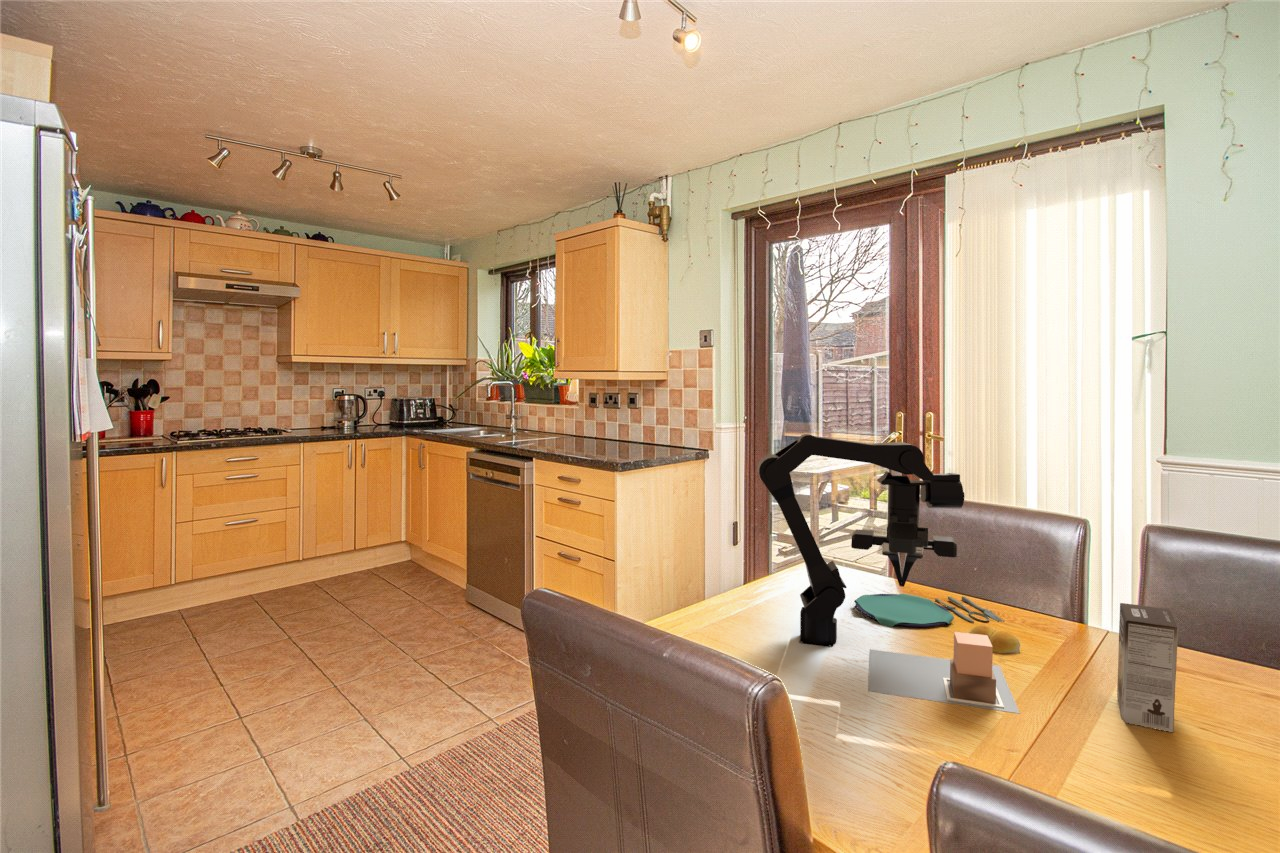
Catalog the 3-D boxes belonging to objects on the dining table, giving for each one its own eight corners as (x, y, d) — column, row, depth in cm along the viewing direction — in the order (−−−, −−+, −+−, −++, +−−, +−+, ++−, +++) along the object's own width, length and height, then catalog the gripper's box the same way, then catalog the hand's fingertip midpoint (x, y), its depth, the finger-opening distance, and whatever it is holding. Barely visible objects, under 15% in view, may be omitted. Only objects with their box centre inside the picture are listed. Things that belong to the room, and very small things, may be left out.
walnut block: (953, 698, 103) (954, 673, 103) (949, 682, 109) (950, 659, 109) (995, 704, 101) (996, 679, 101) (989, 687, 107) (990, 664, 107)
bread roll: (1011, 661, 119) (1011, 640, 119) (961, 646, 126) (961, 626, 126) (1027, 648, 125) (1027, 628, 124) (978, 635, 131) (979, 616, 131)
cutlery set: (841, 602, 152) (841, 592, 152) (961, 599, 155) (962, 590, 155) (879, 635, 133) (879, 624, 132) (1016, 631, 135) (1017, 621, 135)
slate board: (868, 694, 106) (868, 689, 106) (869, 652, 123) (869, 648, 123) (1019, 717, 98) (1019, 712, 98) (999, 668, 115) (999, 664, 115)
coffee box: (1115, 697, 104) (1118, 601, 103) (1165, 707, 101) (1169, 608, 100) (1121, 723, 97) (1125, 618, 96) (1176, 734, 93) (1180, 626, 92)
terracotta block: (957, 673, 104) (957, 642, 103) (953, 660, 108) (953, 631, 108) (992, 677, 102) (992, 646, 102) (986, 664, 107) (987, 635, 106)
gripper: (849, 511, 121) (848, 592, 122) (960, 518, 114) (957, 605, 115) (854, 501, 131) (852, 576, 132) (955, 507, 124) (953, 587, 125)
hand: (901, 586), depth 126 cm, fingers closed
